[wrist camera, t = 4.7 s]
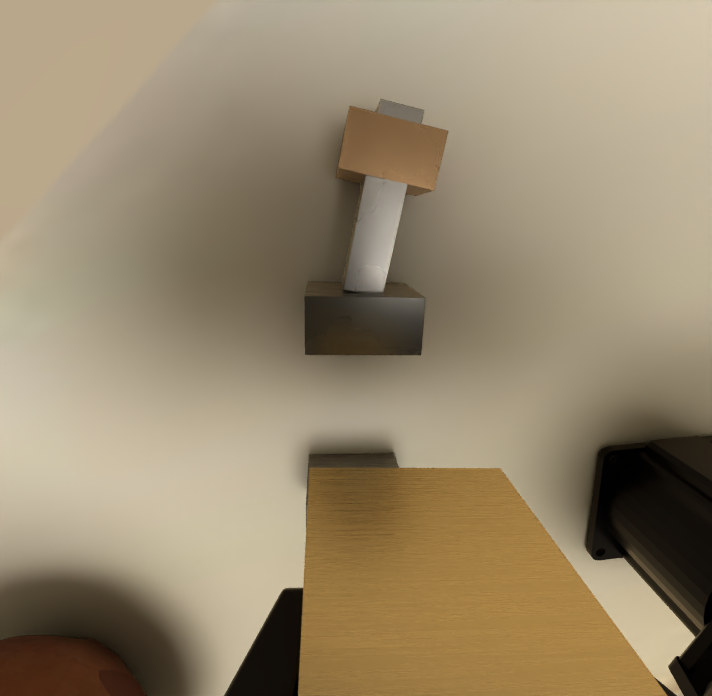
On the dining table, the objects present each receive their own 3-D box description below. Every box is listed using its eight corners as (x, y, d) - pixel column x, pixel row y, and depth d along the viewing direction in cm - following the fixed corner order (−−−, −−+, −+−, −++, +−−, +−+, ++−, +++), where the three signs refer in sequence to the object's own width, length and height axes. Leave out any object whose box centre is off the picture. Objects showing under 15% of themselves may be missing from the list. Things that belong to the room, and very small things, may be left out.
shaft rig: (307, 116, 15) (303, 85, 12) (428, 123, 15) (459, 93, 12) (309, 591, 21) (306, 662, 18) (395, 587, 22) (409, 656, 18)
